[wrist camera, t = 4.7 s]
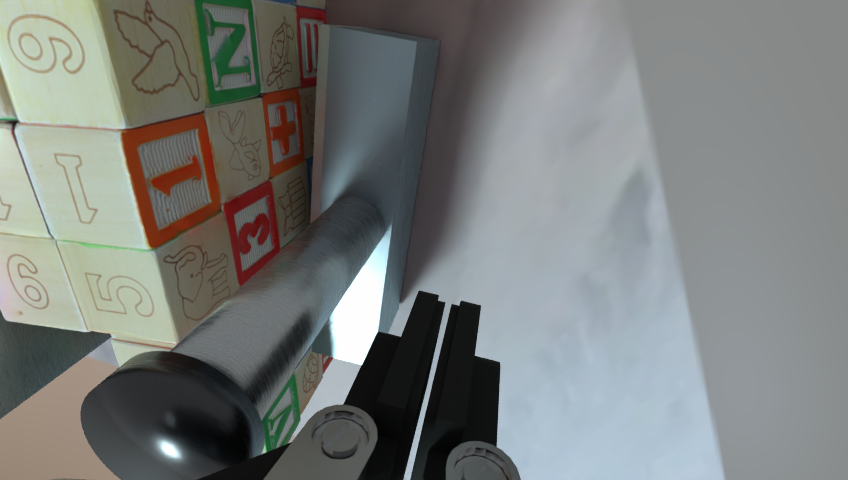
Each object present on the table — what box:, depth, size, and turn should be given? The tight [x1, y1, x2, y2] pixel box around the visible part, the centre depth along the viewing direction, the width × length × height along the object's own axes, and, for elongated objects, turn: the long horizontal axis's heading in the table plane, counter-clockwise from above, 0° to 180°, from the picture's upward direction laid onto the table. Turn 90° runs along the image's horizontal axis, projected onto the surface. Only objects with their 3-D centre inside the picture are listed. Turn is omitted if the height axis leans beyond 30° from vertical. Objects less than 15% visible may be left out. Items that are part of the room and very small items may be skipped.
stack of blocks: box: [0, 0, 333, 454], centre depth 18 cm, size 21×6×12 cm, turn 178°
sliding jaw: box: [81, 24, 441, 480], centre depth 15 cm, size 4×14×16 cm, turn 171°
